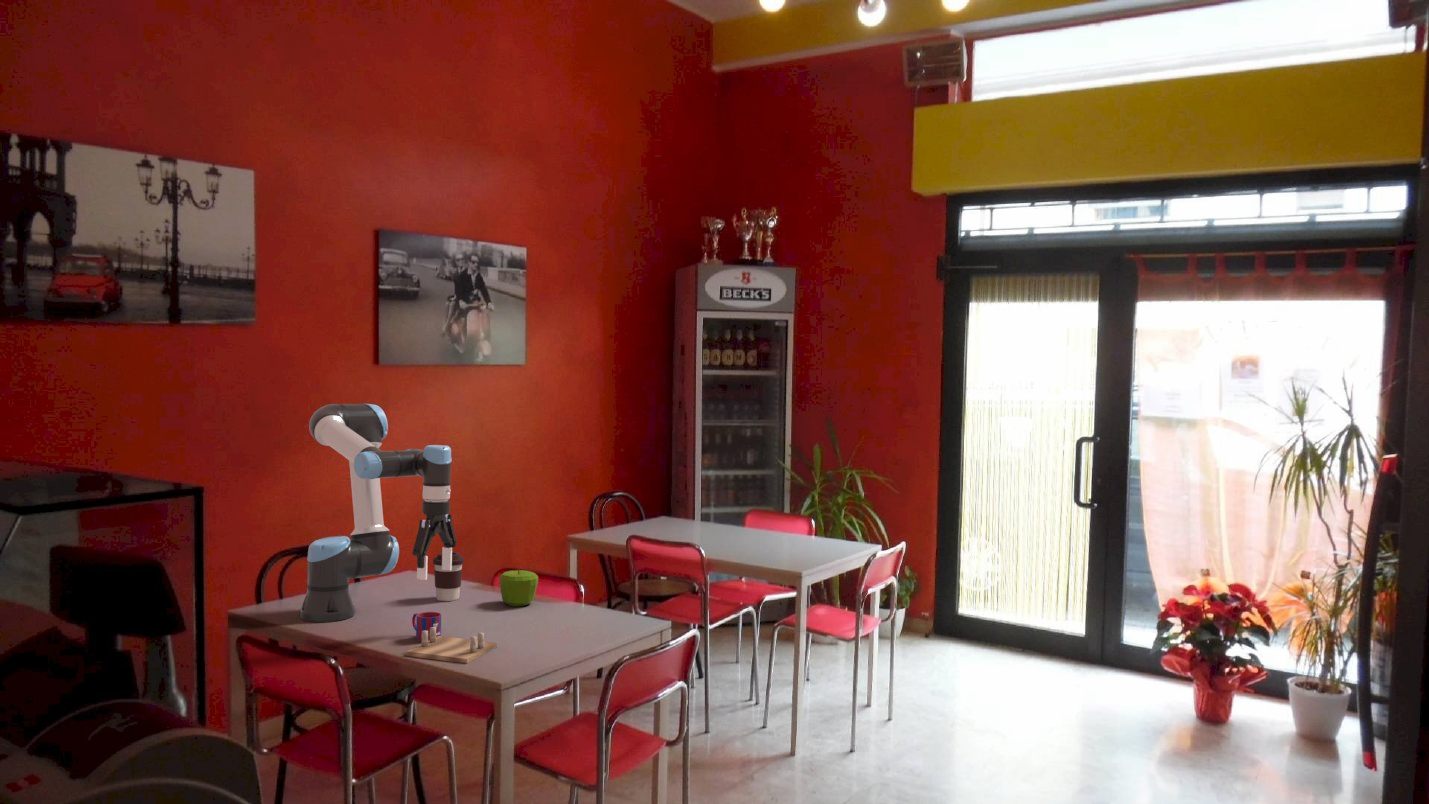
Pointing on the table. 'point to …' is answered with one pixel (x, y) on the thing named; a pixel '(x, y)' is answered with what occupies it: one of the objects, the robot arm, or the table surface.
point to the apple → (518, 587)
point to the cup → (426, 623)
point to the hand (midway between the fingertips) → (434, 574)
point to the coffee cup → (448, 578)
